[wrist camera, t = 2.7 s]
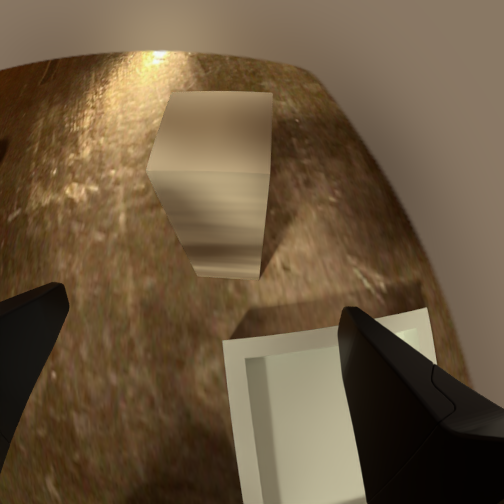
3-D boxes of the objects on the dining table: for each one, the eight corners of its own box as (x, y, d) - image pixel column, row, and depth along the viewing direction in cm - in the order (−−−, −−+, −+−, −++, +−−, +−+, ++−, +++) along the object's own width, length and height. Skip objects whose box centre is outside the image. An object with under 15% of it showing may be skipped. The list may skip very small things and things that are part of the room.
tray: (252, 538, 15) (253, 557, 12) (225, 344, 21) (222, 340, 18) (423, 495, 16) (441, 505, 13) (407, 315, 22) (426, 307, 19)
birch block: (258, 280, 23) (270, 174, 11) (197, 276, 23) (145, 170, 11) (261, 224, 24) (272, 93, 12) (204, 221, 24) (171, 92, 12)
